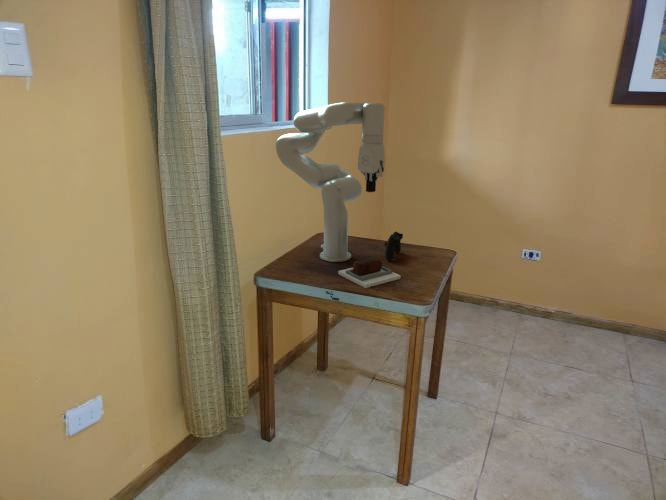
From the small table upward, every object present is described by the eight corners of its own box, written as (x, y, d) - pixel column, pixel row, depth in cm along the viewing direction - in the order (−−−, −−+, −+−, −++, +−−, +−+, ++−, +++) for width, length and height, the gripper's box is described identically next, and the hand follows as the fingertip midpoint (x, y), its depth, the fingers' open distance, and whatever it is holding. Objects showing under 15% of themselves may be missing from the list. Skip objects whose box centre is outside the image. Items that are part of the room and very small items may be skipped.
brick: (359, 277, 162) (359, 264, 160) (352, 273, 165) (353, 261, 163) (382, 271, 168) (382, 259, 166) (375, 268, 171) (375, 256, 169)
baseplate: (338, 273, 168) (338, 268, 167) (372, 265, 176) (372, 260, 176) (365, 288, 155) (365, 282, 155) (400, 278, 164) (400, 272, 163)
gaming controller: (389, 251, 194) (391, 228, 191) (403, 252, 192) (405, 229, 189) (380, 261, 182) (381, 236, 179) (395, 263, 180) (396, 238, 177)
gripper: (351, 138, 164) (350, 189, 170) (378, 141, 153) (375, 196, 158) (367, 138, 169) (365, 187, 174) (394, 141, 157) (392, 194, 163)
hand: (370, 191), depth 166 cm, fingers closed
